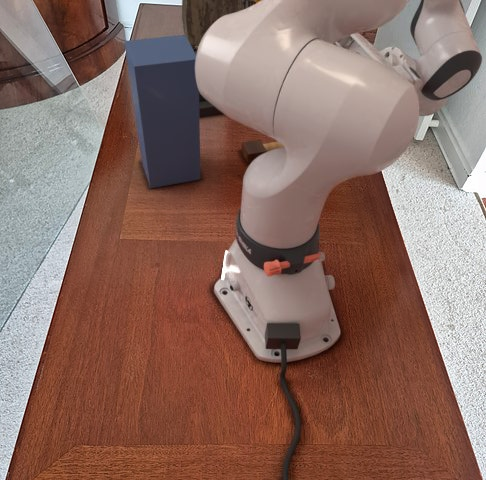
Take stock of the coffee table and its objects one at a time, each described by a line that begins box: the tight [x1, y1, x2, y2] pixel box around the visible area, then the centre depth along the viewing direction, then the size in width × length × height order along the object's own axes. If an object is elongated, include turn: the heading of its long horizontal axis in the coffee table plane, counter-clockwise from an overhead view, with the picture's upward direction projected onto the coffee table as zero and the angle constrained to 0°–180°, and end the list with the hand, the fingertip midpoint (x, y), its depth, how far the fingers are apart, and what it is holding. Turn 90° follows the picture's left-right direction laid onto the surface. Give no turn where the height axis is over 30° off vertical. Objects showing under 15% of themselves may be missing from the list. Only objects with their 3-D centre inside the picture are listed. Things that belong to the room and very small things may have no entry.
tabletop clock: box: [181, 0, 243, 50], centre depth 109 cm, size 14×9×25 cm, turn 92°
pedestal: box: [123, 34, 202, 189], centre depth 82 cm, size 8×10×24 cm
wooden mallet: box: [241, 139, 284, 165], centre depth 97 cm, size 18×4×2 cm, turn 109°
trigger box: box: [199, 92, 225, 118], centre depth 105 cm, size 12×10×4 cm
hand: (342, 44), depth 82 cm, fingers open, 8 cm apart
